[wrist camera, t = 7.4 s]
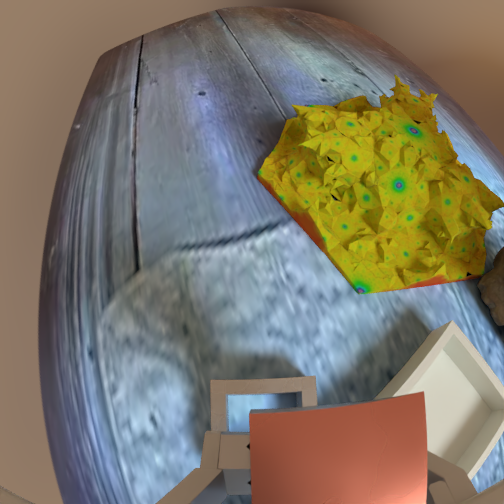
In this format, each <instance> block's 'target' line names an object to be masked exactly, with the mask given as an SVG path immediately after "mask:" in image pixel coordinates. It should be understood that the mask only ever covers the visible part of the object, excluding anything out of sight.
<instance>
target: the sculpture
mask: <svg viewBox="0 0 504 504" xmlns="http://www.w3.org/2000/svg"><path fill="white" fill-rule="evenodd" d="M493 265H494V268H493V269H492V270H491V271H490V272H488V273H486V274H484V275H483V276H482V277H481V279H480V281H479V282H478V284H477V287H478V288H479V289H480V291H481V299H482V300H483V301H484V303H485V304H486V305H488V307H489V308H490V313H491V316H492V318H493V319H494V321H495V322H496V324H497V325H499V326H501V325H504V247H503V248H502V249H501V250H500V251H499V252H498V253H497V255H496V257H495V259H494V262H493Z"/></svg>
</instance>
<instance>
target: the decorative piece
mask: <svg viewBox="0 0 504 504" xmlns="http://www.w3.org/2000/svg"><path fill="white" fill-rule="evenodd" d="M394 75H395V74H394ZM395 81H396V86H395V87H393V88H391V89H389V90H392V91H394V96H393V95H392V96H391V97H390V98H389V97H385V96H386V95H385V94H383V95H382V96H379V97H380V103H381V108H379V107H372V106H371V105H370V103H369V102H368V101H367V98H366V96H359V97H355V98H352V99H348V100H345V101H343V102H340V103H338V104H337V105H335V106H328V105H305V106H299V105H292V107H293V108H294V110H295V111H296V113H297V115H298V116H297V118H295V117H293V118H291V119H287V121H286V124H285V126H284V129H283V132H282V134H281V137H280V140H279V142H278V144H277V145H276V146H275V148H274V149H273V151H272V152H271V154H270V155H269V156H268V157H267V158H266V159H265V161H264V163H263V166H262V167H261V169H260V170H259V171H258V176H257V179H258V180H259V181H260V182H261V183H262V185H263V186H264V187H265V188H266V189H267V190H268V191H269V192H270V193H271V194H272V195H273V196H274V198H275V199H276V200H277V201H278V202H279V203H280V204H281V205H282V206H283V207H284V209H285V210H286V211H287V212H288V213H289V214H290V215H291V216H292V217H293V219H294V220H295V221H296V222H297V223H298V224H299V225H300V226H301V228H302V229H303V230H304V231H305V232H306V233H307V234H308V236H309V237H310V238H311V239H312V240H313V241H314V242H315V244H316V245H317V246H318V247H319V248H320V249H321V250H322V252H324V253H325V254H326V256H327V257H328V258H329V260H330V261H331V262H332V263H333V264H334V266H335V267H336V268H337V269H338V270H339V271H340V273H341V274H342V275H343V276H344V277H345V279H346V280H347V281H348V282H349V283H350V285H351V286H352V287H353V288H354V290H355V291H356V292H357V293H358V294H368V293H377V292H386V291H394V290H402V289H409V288H416V287H424V286H431V285H438V284H444V283H451V282H457V281H464V280H470V279H476V278H480V277H481V276H482V275H484V270H485V261H486V255H487V254H486V248H485V243H484V236H485V232H486V230H489V229H491V228H492V226H491V225H492V221H490V219H491V216H492V214H493V213H492V212H493V211H495V210H497V209H499V208H502V207H504V203H503V201H502V200H501V199H500V198H499V197H498V196H497V195H496V194H494V193H493V192H492V191H490V189H489V188H488V187H487V186H486V185H485V184H484V183H483V182H482V181H481V180H479V179H476V178H474V176H473V174H472V172H471V170H470V168H469V167H468V166H467V165H466V164H465V163H464V164H461V163H460V162H459V161H458V160H457V157H458V155H457V153H456V152H455V151H454V149H453V146H452V143H451V141H450V139H449V137H448V134H447V133H446V132H445V130H444V131H443V130H442V133H438V129H437V126H438V122H436V120H437V119H436V115H434V116H433V114H432V108H434V105H433V101H434V100H435V98H436V96H437V95H438V94H436V95H435V94H433V93H432V94H430V95H429V96H428V95H426V94H425V92H424V91H422V90H420V89H419V91H420V94H421V97H416V96H414V95H412V94H411V93H410V90H409V85H406V84H403V83H402V82H400V78H398V77H397V76H396V75H395ZM436 125H437V126H436ZM289 154H290V155H289ZM330 193H331V194H332V195H333V196H335V197H336V198H337V199H338V200H340V201H341V202H340V201H335V200H334V199H333V198H332V196H331V194H330ZM467 272H469V273H471V274H472V275H470V276H467ZM466 276H467V277H466Z"/></svg>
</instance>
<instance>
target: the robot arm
mask: <svg viewBox="0 0 504 504" xmlns="http://www.w3.org/2000/svg"><path fill="white" fill-rule="evenodd" d="M227 495H251V461H250V432H225V431H222V432H221V431H206V433H205V436H204V443H203V450H202V457H201V465H200V468H195V469H194V470H193V471H192V472H191V473H190V474H189V475H188V476H186V477H185V478H184V479H183V480H182V481H181V482H180V483H179V484H178V485H177V486H175V487H174V488H173V489H172V490H171V491H170V492H169V493H168V494H166V495H165V496H164V497H163V498H162V499H161V500H159V501H158V502H157V503H156V504H222V502H223V501H224V500H225V499H226V497H227ZM0 504H34V503H32V502H29V501H28V500H26V499H24V498H22V497H20V496H18V495H16V494H14V493H12V492H10V491H9V490H7V489H5V488H3V487H2V486H0ZM426 504H504V479H503V480H501V481H499V482H498V483H496V484H494V485H493V486H491V487H489V488H487V489H485V490H484V491H482V492H480V493H477V491H476V490H475V488H474V486H473V484H472V482H471V481H470V479H469V477H468V475H467V474H466V472H465V470H464V469H462V468H460V467H458V466H456V465H454V464H452V463H450V462H448V461H446V460H445V459H443V458H441V457H439V456H437V455H435V454H433V453H431V452H430V451H428V450H427V496H426Z"/></svg>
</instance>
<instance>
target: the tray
mask: <svg viewBox="0 0 504 504" xmlns="http://www.w3.org/2000/svg"><path fill="white" fill-rule="evenodd" d="M422 391H424V397H425V409H426V425H427V450H428V451H430V452H431V453H433V454H435V455H437V456H439V457H441V458H443V459H445V460H446V461H448V462H450V463H452V464H454V465H456V466H458V467H460V468H462V469H464V470H465V472H466V474H467V475H468V477H469V479H470V481H471V479H472V478H473V477H474V475H475V474H476V472H477V471H478V470H479V468H480V467H481V465H482V464H483V463H484V461H485V460H486V458H487V457H488V455H489V454H490V452H491V451H492V449H493V448H494V446H495V444H496V443H497V441H498V440H499V438H500V436H501V435H502V433H503V431H504V386H503V385H502V383H501V382H500V380H499V379H498V378H497V376H496V375H495V374H494V372H493V371H492V369H491V368H490V367H489V365H488V364H487V363H486V361H485V360H484V359H483V357H482V356H481V355H480V354H479V352H478V351H477V350H476V348H475V347H474V346H473V345H472V343H471V342H470V341H469V340H468V338H467V337H466V336H465V335H464V333H463V332H462V331H461V330H460V329H459V327H458V326H457V325H456V324H455V323H454V321H453V320H452V321H450V322H448V323H446V324H444V325H443V326H441V327H439V328H437V329H435V330H433V331H432V332H431V333H430V334H429V335H428V337H427V338H426V339H425V341H424V342H423V343H422V344H421V346H420V347H419V348H418V349H417V351H416V352H415V353H414V354H413V356H412V357H411V358H410V359H409V360H408V362H407V363H406V364H405V365H404V366H403V367H402V369H401V370H400V371H399V372H398V373H397V374H396V375H395V377H394V378H393V379H392V380H391V381H390V382H389V383H388V384H387V385H386V386H385V388H384V389H383V390H382V391H381V392H380V393H379V394H378V395H377V396H376V397H375V398H374V399H373V400H375V399H382V398H389V397H395V396H401V395H406V394H412V393H417V392H422Z"/></svg>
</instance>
